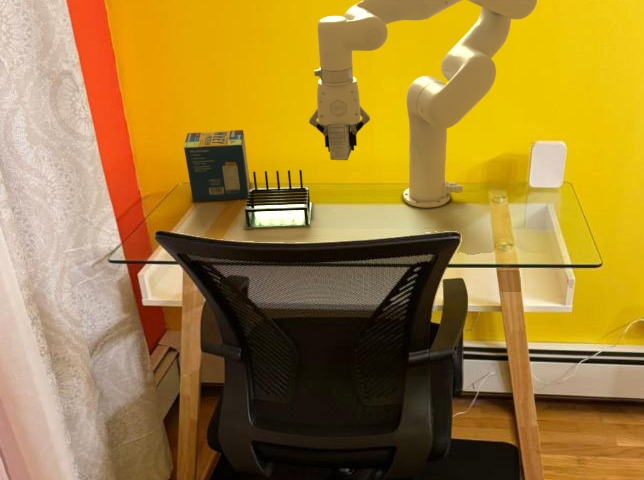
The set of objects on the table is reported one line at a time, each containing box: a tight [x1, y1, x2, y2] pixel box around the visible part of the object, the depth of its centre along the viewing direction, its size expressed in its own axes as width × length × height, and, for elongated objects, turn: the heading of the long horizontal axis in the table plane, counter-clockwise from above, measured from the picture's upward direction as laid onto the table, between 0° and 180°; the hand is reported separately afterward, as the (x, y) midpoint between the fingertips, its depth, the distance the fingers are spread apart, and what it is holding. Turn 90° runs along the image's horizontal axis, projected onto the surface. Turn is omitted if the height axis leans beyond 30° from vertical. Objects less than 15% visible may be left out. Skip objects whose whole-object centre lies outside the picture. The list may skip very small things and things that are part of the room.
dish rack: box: [244, 169, 312, 230], centre depth 202 cm, size 16×13×10 cm
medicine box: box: [328, 124, 352, 161], centre depth 192 cm, size 8×4×9 cm, turn 171°
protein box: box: [183, 129, 251, 203], centre depth 213 cm, size 10×15×16 cm
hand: (341, 148), depth 194 cm, fingers closed on medicine box, 5 cm apart
